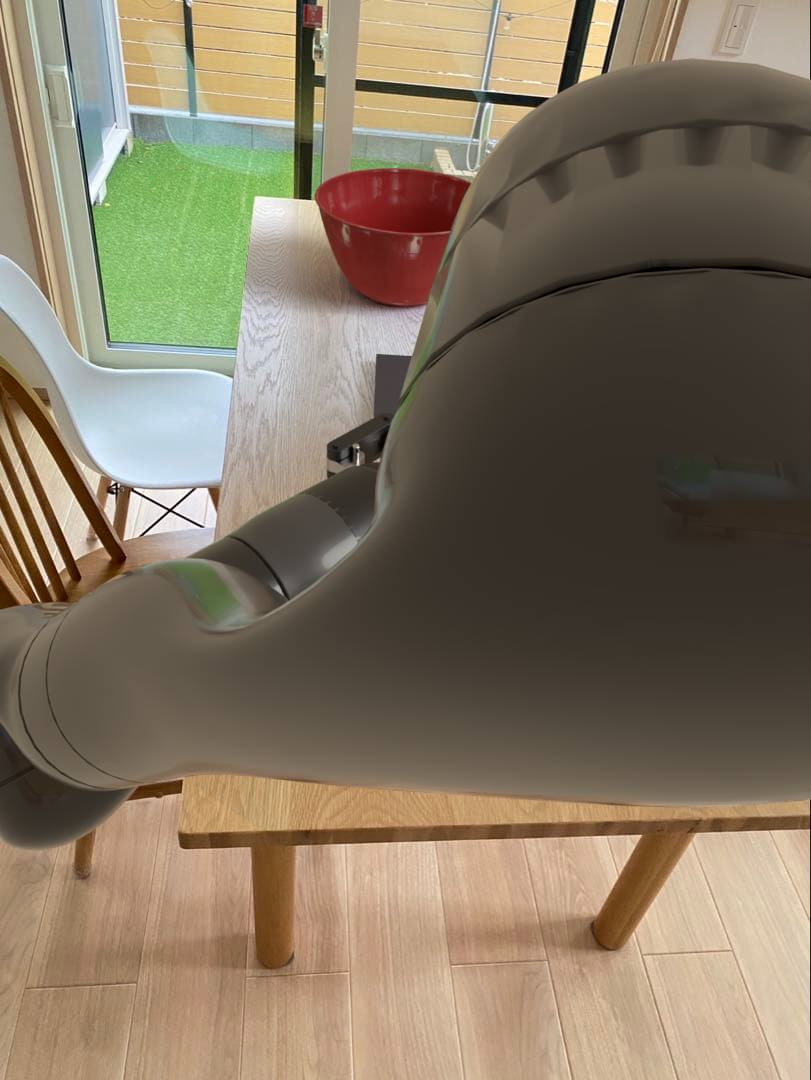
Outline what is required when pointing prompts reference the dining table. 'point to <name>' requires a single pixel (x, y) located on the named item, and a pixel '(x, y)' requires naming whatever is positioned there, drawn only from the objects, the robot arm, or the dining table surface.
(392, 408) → the notebook
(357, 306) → the dining table surface
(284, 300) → the dining table surface
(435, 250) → the mixing bowl
